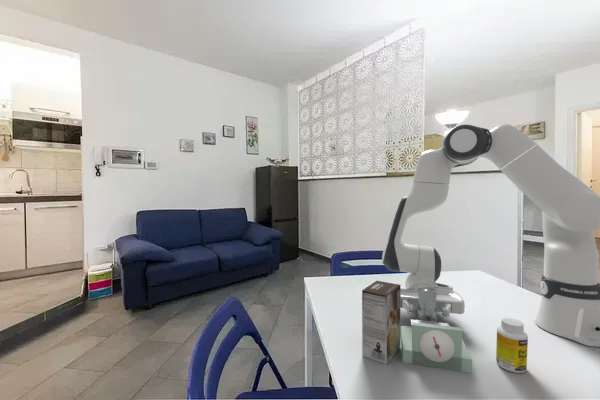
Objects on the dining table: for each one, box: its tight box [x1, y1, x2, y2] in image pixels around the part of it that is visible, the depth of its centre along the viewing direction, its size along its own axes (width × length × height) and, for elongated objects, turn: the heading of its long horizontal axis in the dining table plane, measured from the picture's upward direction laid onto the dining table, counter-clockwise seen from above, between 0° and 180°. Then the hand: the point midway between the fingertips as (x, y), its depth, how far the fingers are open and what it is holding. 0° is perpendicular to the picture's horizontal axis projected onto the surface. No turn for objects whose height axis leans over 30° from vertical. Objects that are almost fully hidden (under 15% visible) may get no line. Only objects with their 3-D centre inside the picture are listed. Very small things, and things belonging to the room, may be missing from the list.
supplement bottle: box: [495, 317, 529, 374], centre depth 65 cm, size 6×6×10 cm
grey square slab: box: [410, 318, 450, 327], centre depth 72 cm, size 9×9×2 cm
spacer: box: [417, 287, 437, 322], centre depth 80 cm, size 5×5×12 cm
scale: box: [400, 322, 473, 374], centre depth 70 cm, size 14×13×9 cm
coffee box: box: [361, 280, 401, 365], centre depth 71 cm, size 9×6×16 cm
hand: (427, 311), depth 79 cm, fingers open, 8 cm apart
